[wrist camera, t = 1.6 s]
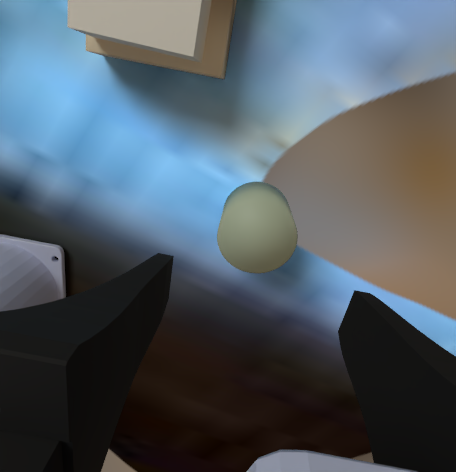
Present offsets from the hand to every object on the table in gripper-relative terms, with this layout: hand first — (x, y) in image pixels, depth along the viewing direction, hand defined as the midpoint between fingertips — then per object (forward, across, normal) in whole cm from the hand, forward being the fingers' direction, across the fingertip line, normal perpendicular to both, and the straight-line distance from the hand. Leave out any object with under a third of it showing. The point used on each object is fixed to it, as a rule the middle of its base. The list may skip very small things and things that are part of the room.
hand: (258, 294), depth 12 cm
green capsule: (+10, 0, 0) cm, 10 cm away
